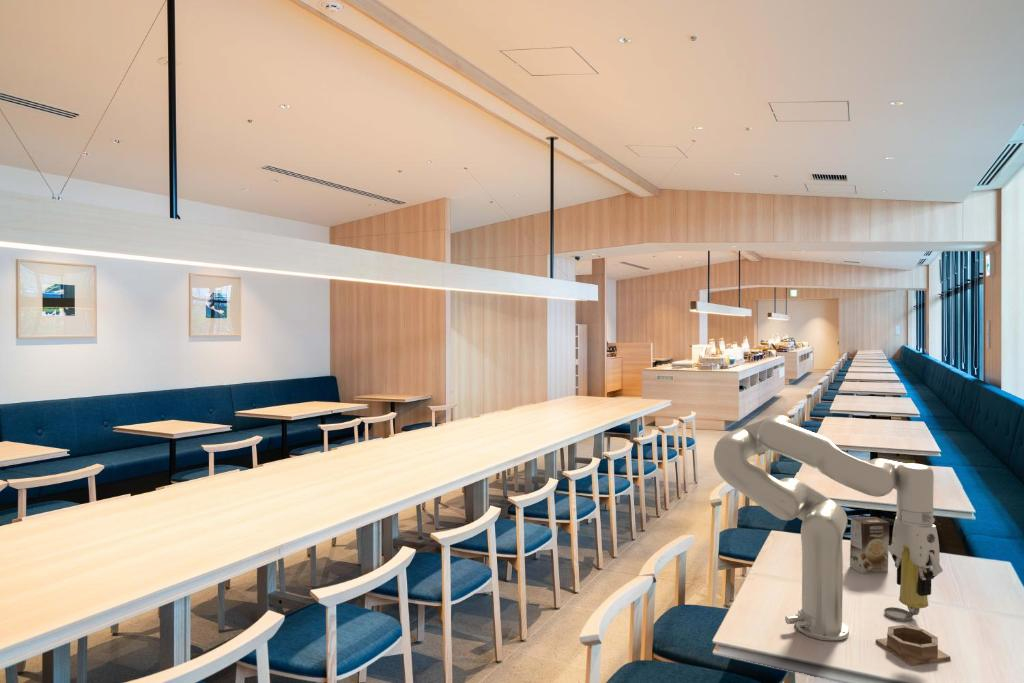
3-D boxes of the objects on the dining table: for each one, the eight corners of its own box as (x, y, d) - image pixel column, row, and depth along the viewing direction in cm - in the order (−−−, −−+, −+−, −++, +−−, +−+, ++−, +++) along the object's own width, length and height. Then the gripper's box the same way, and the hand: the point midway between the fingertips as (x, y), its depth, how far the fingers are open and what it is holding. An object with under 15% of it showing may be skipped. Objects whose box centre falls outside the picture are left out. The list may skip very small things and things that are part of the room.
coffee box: (862, 574, 206) (863, 523, 206) (849, 566, 213) (849, 517, 212) (889, 572, 208) (889, 522, 207) (875, 564, 214) (875, 515, 213)
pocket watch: (878, 613, 180) (879, 577, 179) (899, 607, 183) (900, 572, 183) (906, 626, 172) (907, 589, 172) (928, 620, 176) (929, 583, 175)
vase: (930, 602, 160) (931, 544, 159) (925, 611, 155) (926, 551, 154) (902, 595, 164) (903, 538, 163) (896, 603, 159) (896, 545, 159)
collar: (911, 665, 154) (911, 649, 153) (875, 642, 164) (875, 627, 164) (950, 659, 156) (950, 644, 156) (912, 637, 167) (913, 622, 166)
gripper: (958, 525, 151) (957, 603, 152) (899, 504, 168) (898, 574, 169) (931, 528, 149) (930, 606, 150) (874, 506, 166) (873, 577, 167)
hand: (913, 588), depth 159 cm, fingers closed on vase, 5 cm apart
